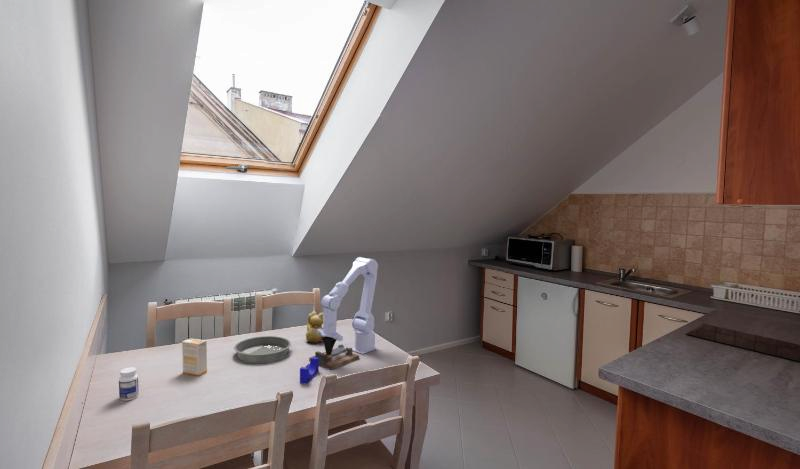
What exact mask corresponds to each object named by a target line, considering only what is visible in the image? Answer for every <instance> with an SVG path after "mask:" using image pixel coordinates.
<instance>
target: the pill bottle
mask: <svg viewBox="0 0 800 469" xmlns="http://www.w3.org/2000/svg"><path fill="white" fill-rule="evenodd" d="M119 372H120V374H119V375H120V377H119V378H118V392H119V393H118V394H119V395H118V396H119V398H118V399H119V400H121V401H124V402H126V401H132V400H135V399H136V398H138V397H139V394H140V393H139V375H138V374H137V368H136V367H133V366H132V367H125V368H123V369H120V371H119Z"/></svg>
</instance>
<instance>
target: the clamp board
mask: <svg viewBox="0 0 800 469" xmlns="http://www.w3.org/2000/svg"><path fill="white" fill-rule="evenodd" d="M342 346H344V344H339V345H338V346H337V347H336V348H333V350H334V349H337V348H339V347H342ZM347 348H348V349H347V351H345V352H343V353H340V354H338V355H335V356H333V357H330V358H328V359H327V354H324V353H323V352H321V351H315V354H314V355H312V356H310V357H309V358H308V361H309V362H310V358H311V357H316V358H319V366H321V367H322V368H325V369H327V370H335V369H336V368H340V367H341V366H344V365H347V364H349V363H351V362H352V363H353V362H354V361H357V360H359V359H360V355H359V354H357V353H354V352H353V351H352V347H347Z"/></svg>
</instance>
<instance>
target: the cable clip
mask: <svg viewBox="0 0 800 469" xmlns="http://www.w3.org/2000/svg"><path fill="white" fill-rule="evenodd" d="M310 357H311V358H310ZM310 357H309V358H310V361H309V363H308V364H307V365H305V367H304V366H301V367H300V368H299V383H300V384H304V383H305V384H306V385H308V383H309V382H310V381H311V380H312V379H313V378H314V377H315V376H316V375H317V374H318V373H319V370H320V369H319V368H320V367H319V366H320V365H319V358H316V357H313V356H310ZM317 372H318V373H317Z"/></svg>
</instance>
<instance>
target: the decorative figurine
mask: <svg viewBox="0 0 800 469" xmlns="http://www.w3.org/2000/svg"><path fill="white" fill-rule="evenodd" d="M323 314H324V312H319V314H317V312H316V311H315V310H312V312H310V313H308V317H307V323H306V330H307V331H306V332H305V339H306V341H307V343H311V344H318V343H320V342H322V340H321V338H322V337H323V336H321V334H317V329H323Z"/></svg>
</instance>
